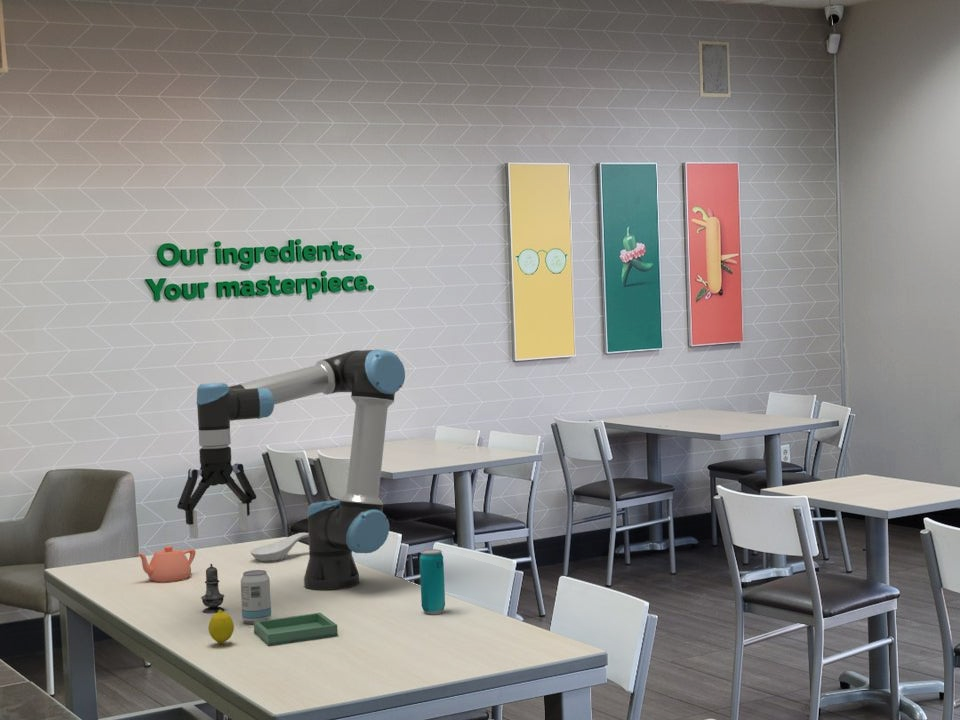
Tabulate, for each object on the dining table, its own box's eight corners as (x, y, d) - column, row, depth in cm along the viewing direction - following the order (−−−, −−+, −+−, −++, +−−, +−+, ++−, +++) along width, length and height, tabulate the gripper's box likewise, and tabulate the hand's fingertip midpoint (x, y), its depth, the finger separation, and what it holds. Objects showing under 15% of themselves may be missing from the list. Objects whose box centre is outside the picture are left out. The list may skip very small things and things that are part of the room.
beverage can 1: (276, 618, 288) (274, 569, 288) (262, 625, 282) (260, 575, 282) (251, 617, 291) (249, 569, 290) (237, 624, 284) (234, 574, 284)
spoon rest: (260, 566, 357) (259, 542, 357) (245, 560, 367) (244, 537, 367) (331, 555, 370) (330, 532, 370) (315, 550, 380) (314, 528, 380)
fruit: (222, 648, 262) (220, 613, 262) (204, 646, 265) (202, 610, 265) (239, 642, 267) (238, 607, 267) (221, 640, 270) (220, 605, 270)
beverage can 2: (449, 610, 290) (447, 549, 290) (438, 615, 285) (436, 553, 284) (428, 608, 292) (426, 548, 292) (417, 614, 287) (415, 552, 287)
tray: (320, 622, 282) (320, 612, 282) (337, 635, 270) (337, 625, 270) (254, 632, 276) (253, 621, 276) (268, 645, 263) (267, 634, 263)
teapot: (205, 577, 343) (203, 544, 343) (145, 587, 332) (144, 553, 332) (187, 571, 353) (185, 539, 353) (128, 581, 342) (127, 548, 341)
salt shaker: (219, 613, 297) (217, 565, 296) (197, 613, 298) (195, 565, 297) (229, 607, 302) (226, 561, 302) (207, 607, 304) (205, 561, 303)
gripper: (251, 441, 299) (255, 524, 300) (160, 451, 282) (164, 539, 283) (267, 442, 293) (271, 527, 294) (175, 452, 277) (179, 542, 277)
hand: (219, 533), depth 288 cm, fingers open, 13 cm apart
